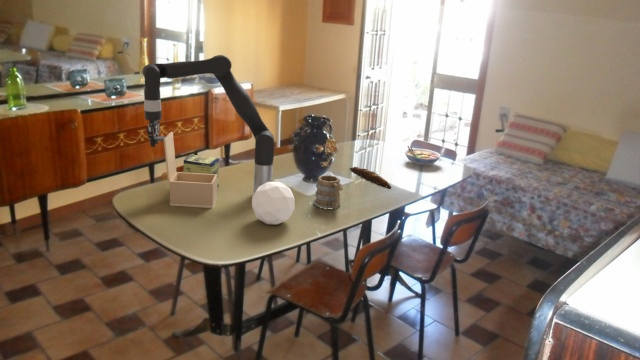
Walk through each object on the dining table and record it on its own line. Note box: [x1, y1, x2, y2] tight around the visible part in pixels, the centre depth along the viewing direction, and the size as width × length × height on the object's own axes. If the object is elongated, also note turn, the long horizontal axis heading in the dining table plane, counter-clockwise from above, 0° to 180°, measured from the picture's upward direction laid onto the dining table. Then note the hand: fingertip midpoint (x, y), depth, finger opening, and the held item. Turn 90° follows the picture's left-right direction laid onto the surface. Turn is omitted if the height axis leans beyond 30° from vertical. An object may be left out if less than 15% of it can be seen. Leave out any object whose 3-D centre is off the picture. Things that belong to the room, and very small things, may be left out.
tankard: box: [312, 174, 344, 209], centre depth 273 cm, size 20×13×15 cm, turn 23°
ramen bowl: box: [404, 145, 441, 167], centre depth 356 cm, size 25×23×8 cm
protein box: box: [183, 154, 220, 188], centre depth 286 cm, size 10×16×16 cm
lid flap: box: [148, 131, 177, 182], centre depth 262 cm, size 20×14×9 cm
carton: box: [169, 171, 218, 209], centre depth 268 cm, size 20×14×12 cm
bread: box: [349, 166, 392, 189], centre depth 322 cm, size 38×5×5 cm, turn 35°
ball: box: [251, 181, 296, 226], centre depth 250 cm, size 19×20×20 cm
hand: (154, 145), depth 261 cm, fingers closed on lid flap, 4 cm apart
